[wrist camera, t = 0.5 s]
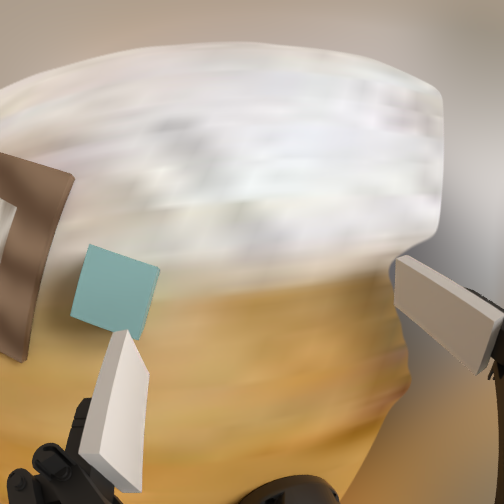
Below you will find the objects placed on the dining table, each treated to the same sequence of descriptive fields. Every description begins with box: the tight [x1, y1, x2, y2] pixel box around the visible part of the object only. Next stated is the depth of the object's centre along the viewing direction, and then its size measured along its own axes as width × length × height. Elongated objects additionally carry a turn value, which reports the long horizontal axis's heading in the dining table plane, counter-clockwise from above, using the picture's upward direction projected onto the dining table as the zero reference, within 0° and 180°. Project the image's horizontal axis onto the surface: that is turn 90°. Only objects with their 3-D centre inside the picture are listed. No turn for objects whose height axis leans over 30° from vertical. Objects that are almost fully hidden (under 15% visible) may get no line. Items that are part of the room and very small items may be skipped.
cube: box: [70, 244, 160, 340], centre depth 24 cm, size 6×6×6 cm
